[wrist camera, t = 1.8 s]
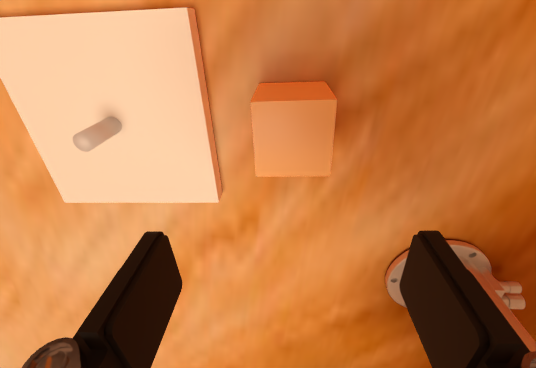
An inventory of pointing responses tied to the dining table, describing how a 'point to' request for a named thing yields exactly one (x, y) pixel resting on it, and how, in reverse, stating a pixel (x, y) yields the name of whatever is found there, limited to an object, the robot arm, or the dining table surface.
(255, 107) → the orange block
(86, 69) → the post board
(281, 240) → the dining table surface
